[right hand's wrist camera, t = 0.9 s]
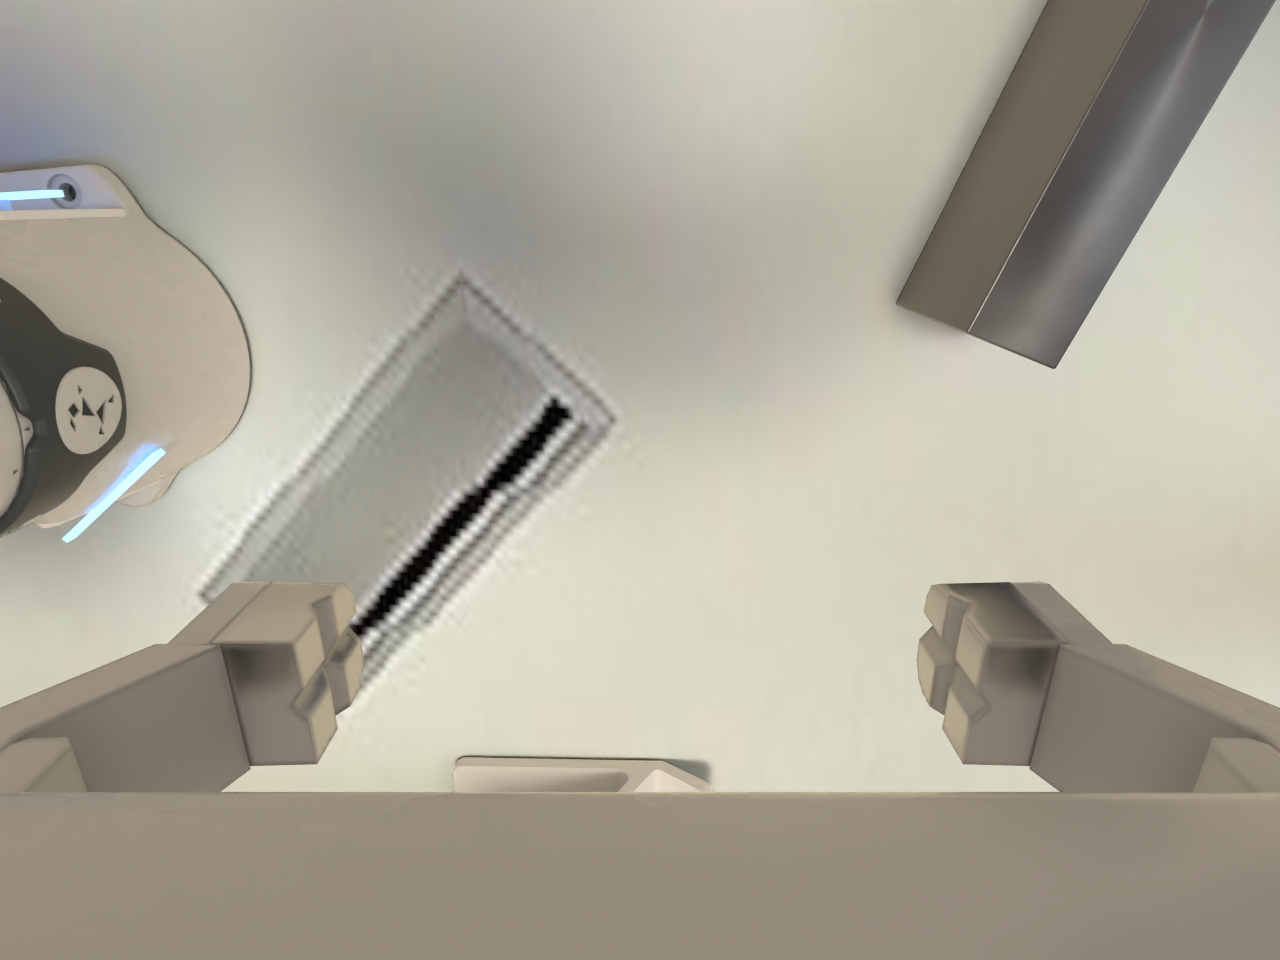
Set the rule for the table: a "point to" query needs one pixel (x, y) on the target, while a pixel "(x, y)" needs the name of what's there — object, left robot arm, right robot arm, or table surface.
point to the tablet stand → (572, 776)
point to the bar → (1074, 164)
